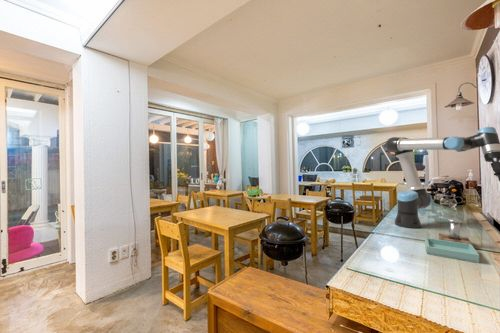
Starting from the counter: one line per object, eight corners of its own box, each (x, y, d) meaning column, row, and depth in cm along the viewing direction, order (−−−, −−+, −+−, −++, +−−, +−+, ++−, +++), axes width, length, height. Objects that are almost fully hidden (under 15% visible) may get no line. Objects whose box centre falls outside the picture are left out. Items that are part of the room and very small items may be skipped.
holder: (441, 244, 121) (441, 239, 121) (438, 238, 131) (438, 233, 131) (472, 249, 114) (472, 243, 114) (467, 242, 124) (467, 237, 124)
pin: (448, 244, 122) (448, 220, 122) (447, 241, 127) (447, 217, 126) (462, 246, 119) (462, 221, 119) (460, 243, 123) (460, 219, 123)
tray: (426, 254, 110) (427, 246, 110) (425, 244, 123) (425, 237, 123) (479, 263, 99) (479, 255, 99) (471, 251, 113) (471, 244, 112)
